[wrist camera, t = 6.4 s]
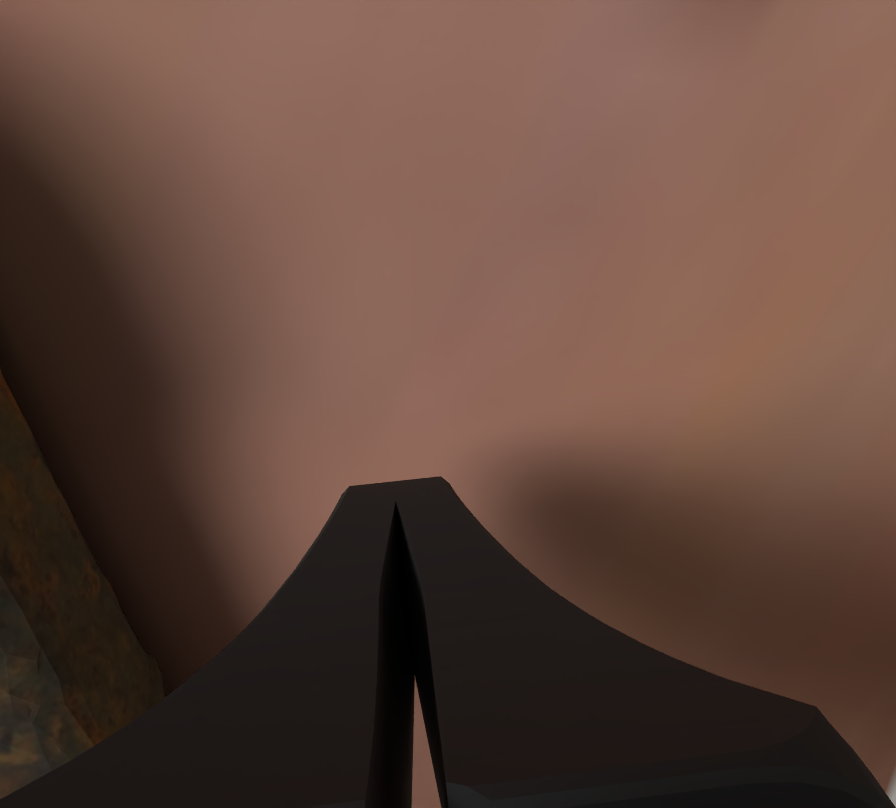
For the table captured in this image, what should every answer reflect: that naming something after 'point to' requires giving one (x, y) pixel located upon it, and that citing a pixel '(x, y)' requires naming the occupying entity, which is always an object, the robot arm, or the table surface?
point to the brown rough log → (56, 624)
